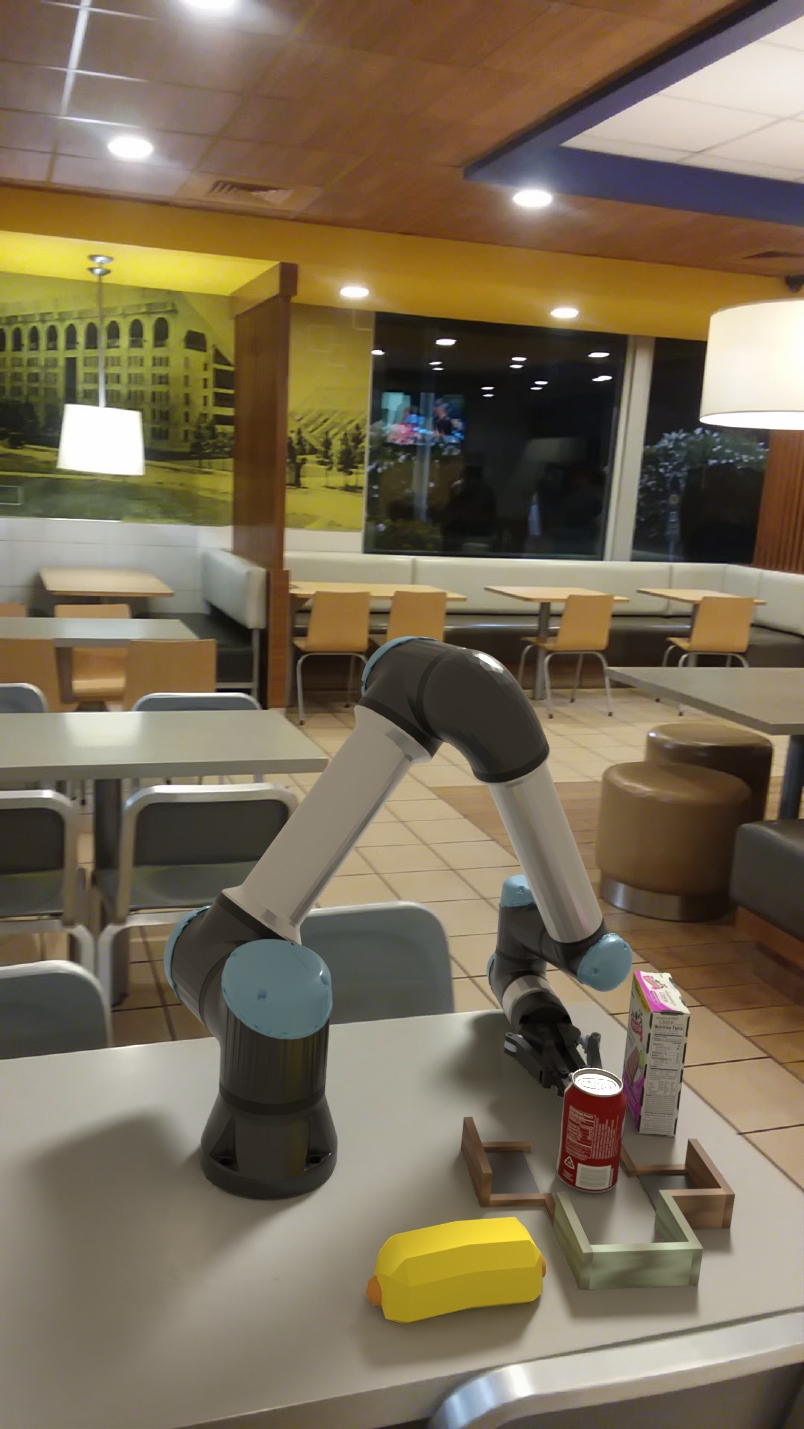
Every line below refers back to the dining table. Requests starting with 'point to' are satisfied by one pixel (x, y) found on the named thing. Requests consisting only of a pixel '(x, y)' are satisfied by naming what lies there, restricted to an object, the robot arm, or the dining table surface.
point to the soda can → (591, 1131)
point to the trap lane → (680, 1206)
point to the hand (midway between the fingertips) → (592, 1113)
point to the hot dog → (456, 1269)
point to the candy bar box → (655, 1053)
